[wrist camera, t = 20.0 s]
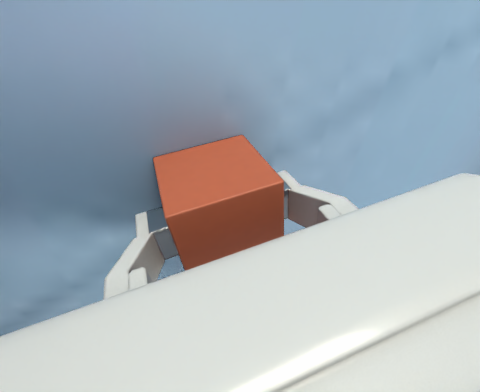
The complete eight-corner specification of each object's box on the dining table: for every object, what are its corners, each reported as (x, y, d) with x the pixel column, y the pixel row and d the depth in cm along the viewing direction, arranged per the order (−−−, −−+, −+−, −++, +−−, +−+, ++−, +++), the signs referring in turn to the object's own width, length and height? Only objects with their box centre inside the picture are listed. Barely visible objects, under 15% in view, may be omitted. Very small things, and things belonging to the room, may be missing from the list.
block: (242, 133, 14) (284, 180, 10) (249, 202, 16) (284, 257, 13) (152, 157, 13) (164, 217, 9) (176, 225, 15) (192, 291, 12)
